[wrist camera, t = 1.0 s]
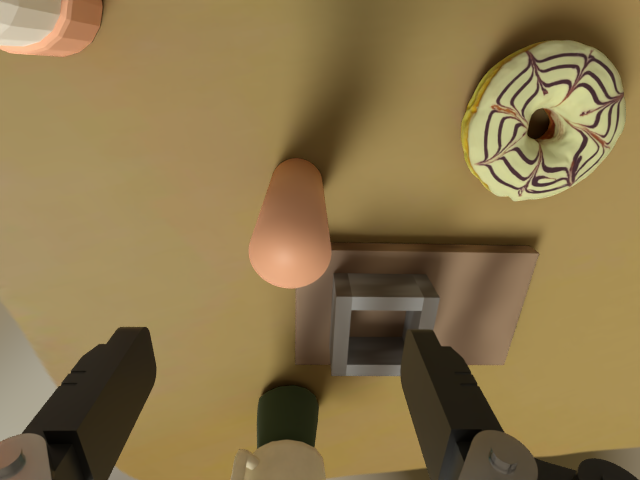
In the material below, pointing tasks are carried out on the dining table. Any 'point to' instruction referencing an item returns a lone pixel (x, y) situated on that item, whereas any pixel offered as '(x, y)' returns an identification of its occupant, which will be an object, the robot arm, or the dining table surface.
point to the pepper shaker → (48, 26)
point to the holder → (411, 304)
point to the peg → (292, 227)
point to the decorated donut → (563, 111)
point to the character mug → (283, 439)
